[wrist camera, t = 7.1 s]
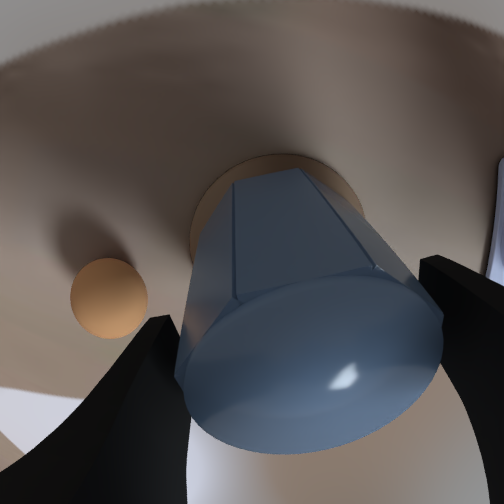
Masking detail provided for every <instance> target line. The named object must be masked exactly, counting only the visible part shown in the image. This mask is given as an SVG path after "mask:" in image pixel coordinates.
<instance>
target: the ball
mask: <svg viewBox="0 0 504 504" xmlns="http://www.w3.org/2000/svg"><path fill="white" fill-rule="evenodd" d="M70 299H71V307H72V310H73V313H74V315H75V317H76V319H77V321H78V322H79V324H80V325H81V326H82V327H83V328H84V329H85V330H87V331H88V332H89V333H91V334H93V335H95V336H97V337H101V338H105V339H115V338H120V337H123V336H126V335H127V334H129V333H131V332H132V331H134V330H135V329H136V328H137V327H138V326H139V324H140V323H141V321H142V320H143V318H144V315H145V313H146V309H147V303H148V296H147V290H146V286H145V284H144V281H143V279H142V278H141V276H140V275H139V273H138V272H137V271H136V270H135V269H134V268H133V267H132V266H130V265H129V264H127V263H126V262H123V261H121V260H118V259H114V258H102V259H98V260H95V261H92V262H90V263H88V264H87V265H86V266H85V267H83V268H82V269H81V270H80V271H79V273H78V274H77V276H76V277H75V279H74V281H73V284H72V288H71V294H70Z"/></svg>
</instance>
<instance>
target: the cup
mask: <svg viewBox="0 0 504 504" xmlns="http://www.w3.org/2000/svg"><path fill="white" fill-rule="evenodd" d="M443 318H444V315H443V312H442V311H441V309H440V308H439V307H438V305H437V304H436V303H435V301H434V300H433V299H432V298H431V296H430V295H429V294H428V292H427V291H426V290H425V289H424V287H423V286H422V285H421V284H420V282H419V281H418V280H417V279H416V277H415V276H414V275H413V274H412V273H411V271H410V270H409V269H408V268H407V266H406V265H405V264H404V263H403V262H402V261H401V259H400V258H399V257H398V256H397V255H396V253H395V252H394V251H393V250H392V249H391V248H390V246H389V245H388V244H387V243H386V242H385V241H384V240H383V238H382V237H381V236H380V235H379V234H378V233H377V232H376V231H375V229H374V228H373V227H372V226H371V225H370V224H369V223H368V222H367V221H366V219H365V218H364V217H363V216H362V215H361V214H360V213H359V212H358V211H357V210H356V209H355V208H354V207H353V205H352V204H351V203H350V202H349V201H347V200H346V199H345V198H343V197H342V196H340V195H339V194H338V193H336V192H335V191H333V190H332V189H331V188H329V187H328V186H326V185H325V184H323V183H322V182H321V181H319V180H318V179H316V178H315V177H313V176H312V175H310V174H309V173H307V172H306V171H305V170H303V169H302V168H301V169H299V168H294V169H289V170H284V171H279V172H274V173H269V174H265V175H260V176H255V177H251V178H246V179H242V180H237V181H234V183H232V184H231V185H230V187H229V188H228V190H227V191H226V193H225V195H224V196H223V198H222V199H221V201H220V202H219V204H218V205H217V207H216V209H215V210H214V212H213V213H212V215H211V217H210V218H209V220H208V221H207V223H206V225H205V226H204V228H203V229H202V231H201V233H200V236H199V240H198V245H197V250H196V255H195V260H194V265H193V270H192V275H191V280H190V285H189V291H188V296H187V301H186V307H185V312H184V318H183V324H182V330H181V335H180V341H179V347H178V354H177V360H176V366H175V373H174V374H175V375H174V377H175V379H176V381H177V382H178V384H179V386H180V387H181V389H182V390H183V392H184V400H185V403H186V407H187V409H188V411H189V413H190V415H191V417H192V418H193V419H194V420H195V422H196V423H197V424H198V425H199V426H200V427H201V428H202V429H203V430H204V431H206V432H207V433H208V434H210V435H211V436H213V437H215V438H216V439H218V440H220V441H222V442H224V443H226V444H229V445H231V446H234V447H237V448H240V449H245V450H248V451H253V452H259V453H267V454H301V453H309V452H316V451H321V450H326V449H330V448H334V447H337V446H341V445H344V444H347V443H350V442H353V441H355V440H357V439H360V438H362V437H365V436H367V435H369V434H371V433H373V432H374V431H376V430H378V429H380V428H382V427H383V426H385V425H387V424H388V423H390V422H391V421H392V420H394V419H395V418H397V417H398V416H399V415H401V414H402V413H403V412H404V411H406V410H407V409H408V408H409V407H410V406H411V405H412V404H413V403H414V402H415V401H416V400H417V399H418V398H419V397H420V396H421V394H422V393H423V392H424V391H425V390H426V388H427V387H428V385H429V384H430V382H431V381H432V379H433V377H434V375H435V373H436V372H437V369H438V367H439V364H440V361H441V358H442V353H443V333H442V328H441V327H442V322H443Z"/></svg>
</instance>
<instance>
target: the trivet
mask: <svg viewBox="0 0 504 504" xmlns="http://www.w3.org/2000/svg"><path fill="white" fill-rule="evenodd" d="M294 168H299V169H301V168H302V169H303V170H305V171H306V172H307V173H309V174H310V175H312V176H313V177H315V178H316V179H318V180H319V181H321V182H322V183H323V184H325V185H326V186H328V187H329V188H331V189H332V190H333V191H335V192H336V193H338V194H339V195H340V196H342V197H343V198H345V199H346V200H347V201H349V202H350V203H351V204H352V205H353V207H354V208H355V209H356V210H357V211H358V212H359V213H360V214H361V215H362V216H363V217H364V218H365V215H364V212H363V208H362V206H361V204H360V201H359V199H358V197H357V195H356V194H355V192H354V191H353V189H352V188H351V187H350V186H349V184H348V183H347V182H346V181H345V180H344V179H343V178H342V177H341V176H339V175H338V174H337V173H336V172H335V171H333V170H332V169H331V168H329V167H327V166H326V165H324V164H322V163H320V162H318V161H315V160H313V159H310V158H307V157H303V156H299V155H292V154H271V155H264V156H260V157H256V158H253V159H249V160H247V161H245V162H242V163H240V164H238V165H236V166H234V167H233V168H231V169H229V170H228V171H226V172H225V173H224V174H223V175H221V176H220V177H219V178H218V179H217V180H216V181H215V182H214V183H213V184H212V185H211V186H210V187H209V188H208V190H207V191H206V192H205V194H204V195H203V197H202V198H201V200H200V202H199V204H198V206H197V208H196V211H195V214H194V217H193V220H192V224H191V230H190V253H191V258H192V262H193V265H194V260H195V255H196V250H197V245H198V240H199V236H200V233H201V231H202V229H203V228H204V226H205V225H206V223H207V221H208V220H209V218H210V217H211V215H212V213H213V212H214V210H215V209H216V207H217V205H218V204H219V202H220V201H221V199H222V198H223V196H224V195H225V193H226V191H227V190H228V188H229V187H230V185H231V184H232V183H234V181H237V180H242V179H246V178H251V177H255V176H260V175H265V174H269V173H274V172H279V171H284V170H289V169H294Z"/></svg>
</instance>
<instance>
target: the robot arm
mask: <svg viewBox="0 0 504 504" xmlns="http://www.w3.org/2000/svg"><path fill="white" fill-rule="evenodd" d="M418 281H419V282H420V284H421V285H422V286H423V287H424V289H425V290H426V291H427V292H428V294H429V295H430V296H431V298H432V299H433V300H434V301H435V303H436V304H437V305H438V307H439V308H440V309H441V311H442V312H443V315H444V318H443V322H442V327H441V328H442V333H443V353H442V358H441V361H440V363H441V365H442V367H443V368H444V370H445V372H446V373H447V375H448V377H449V378H450V380H451V382H452V384H453V385H454V387H455V389H456V391H457V392H458V394H459V396H460V398H461V400H462V402H463V404H464V406H465V409H466V411H467V414H468V416H469V419H470V422H471V424H472V427H473V430H474V433H475V436H476V439H477V442H478V446H479V449H480V452H481V456H482V460H483V464H484V469H485V473H486V478H487V484H488V490H489V499H490V504H504V158H502V160H501V161H500V163H499V170H498V189H497V202H496V212H495V221H494V229H493V237H492V243H491V250H490V256H489V261H488V267H487V272H486V277H485V276H483V275H481V274H479V273H477V272H475V271H473V270H471V269H469V268H467V267H465V266H463V265H461V264H458V263H456V262H454V261H452V260H450V259H447V258H445V257H443V256H440V255H434V256H430V257H426V258H423V259H420V267H419V280H418ZM179 341H180V336H179V334H178V332H177V330H176V327H175V325H174V323H173V321H172V319H171V317H170V315H163V316H158V317H152V318H149V320H148V321H147V322H146V323H145V324H144V325H143V327H142V328H141V329H140V330H139V332H138V333H137V334H136V335H135V337H134V338H133V339H132V341H131V342H130V343H129V345H128V346H127V347H126V349H125V350H124V351H123V352H122V354H121V355H120V356H119V358H118V359H117V360H116V362H115V363H114V364H113V365H112V367H111V368H110V369H109V371H108V372H107V373H106V374H105V375H104V377H103V378H102V379H101V380H100V381H99V383H98V384H97V385H96V386H95V388H94V389H93V390H92V391H91V392H90V394H89V395H88V396H87V397H86V398H85V399H84V401H83V402H82V403H81V404H80V405H79V406H78V407H77V408H76V410H75V411H73V412H72V414H71V415H70V416H69V417H68V418H67V419H66V420H65V421H64V422H63V423H62V424H61V425H60V426H59V427H58V428H56V429H55V430H54V431H53V432H52V433H51V434H50V435H48V436H47V437H46V438H45V439H44V440H43V441H42V442H40V443H39V444H38V445H37V446H36V447H35V448H34V449H32V450H31V451H30V452H28V453H27V454H26V455H24V456H23V457H22V458H20V459H19V460H18V461H16V462H15V463H13V464H12V465H10V466H9V467H7V468H6V469H4V470H3V471H1V472H0V504H187V486H186V485H187V484H186V464H187V451H188V442H189V433H190V423H191V415H190V413H189V411H188V409H187V407H186V403H185V400H184V392H183V390H182V389H181V387H180V386H179V384H178V382H177V381H176V379H175V377H174V375H175V374H174V373H175V366H176V360H177V354H178V347H179Z"/></svg>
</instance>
